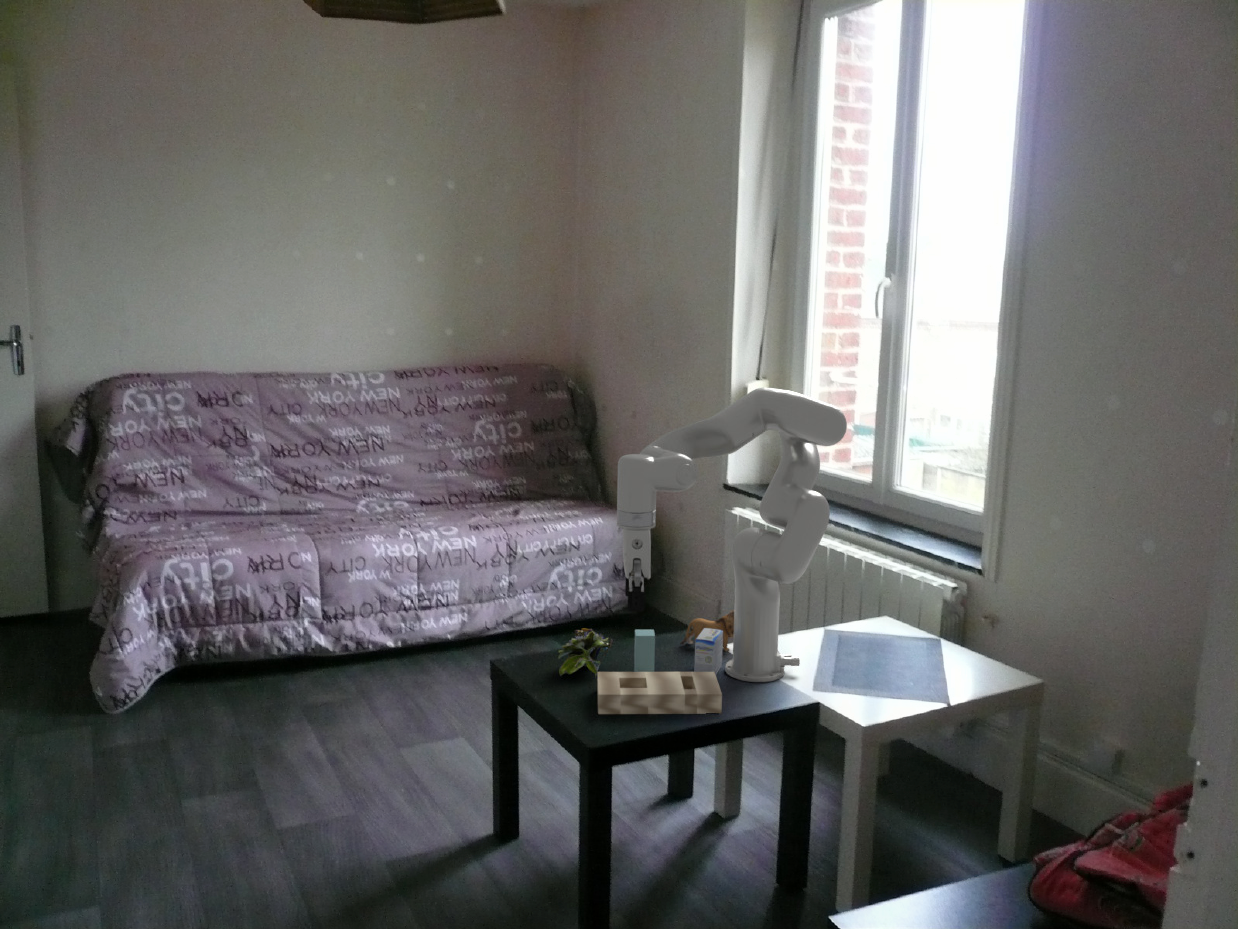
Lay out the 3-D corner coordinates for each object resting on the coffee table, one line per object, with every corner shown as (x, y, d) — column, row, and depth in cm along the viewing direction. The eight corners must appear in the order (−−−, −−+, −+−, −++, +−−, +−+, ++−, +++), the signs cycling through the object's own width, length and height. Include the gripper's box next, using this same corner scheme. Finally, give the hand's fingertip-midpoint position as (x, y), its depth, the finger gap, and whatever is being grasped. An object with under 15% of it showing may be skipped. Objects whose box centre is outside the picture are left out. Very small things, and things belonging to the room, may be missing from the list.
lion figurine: (742, 644, 249) (743, 606, 247) (744, 652, 243) (745, 614, 242) (679, 642, 249) (679, 605, 247) (679, 650, 244) (680, 612, 242)
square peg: (652, 674, 229) (653, 629, 228) (654, 681, 225) (655, 635, 224) (634, 674, 229) (634, 629, 227) (635, 681, 225) (635, 635, 223)
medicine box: (702, 665, 235) (703, 627, 234) (722, 667, 234) (723, 629, 232) (693, 677, 228) (694, 638, 226) (714, 680, 226) (715, 641, 225)
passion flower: (582, 690, 234) (606, 640, 238) (606, 698, 225) (630, 646, 228) (542, 668, 230) (566, 617, 233) (564, 675, 220) (590, 622, 223)
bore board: (713, 690, 221) (714, 671, 220) (721, 713, 209) (721, 694, 208) (597, 690, 220) (597, 671, 219) (598, 714, 208) (598, 694, 207)
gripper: (658, 528, 199) (656, 617, 202) (652, 509, 216) (650, 590, 219) (618, 528, 199) (617, 617, 202) (615, 508, 216) (614, 590, 219)
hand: (634, 603), depth 211 cm, fingers open, 9 cm apart
